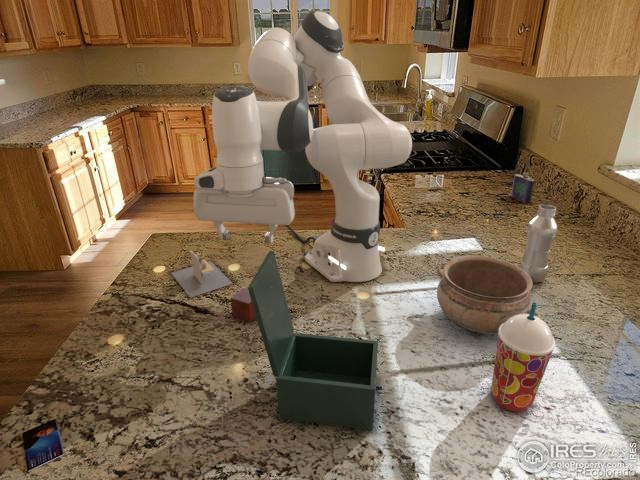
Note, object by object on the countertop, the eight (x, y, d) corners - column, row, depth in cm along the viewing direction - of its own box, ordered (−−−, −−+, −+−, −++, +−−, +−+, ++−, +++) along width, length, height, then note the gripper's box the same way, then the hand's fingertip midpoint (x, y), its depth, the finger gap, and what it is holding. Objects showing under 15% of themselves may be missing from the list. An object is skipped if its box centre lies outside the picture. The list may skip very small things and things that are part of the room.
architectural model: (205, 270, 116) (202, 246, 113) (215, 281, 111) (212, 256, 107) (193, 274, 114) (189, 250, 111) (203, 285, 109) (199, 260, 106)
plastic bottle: (548, 286, 107) (567, 213, 98) (519, 284, 108) (536, 211, 99) (541, 274, 112) (559, 203, 104) (514, 271, 114) (529, 201, 105)
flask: (508, 196, 166) (513, 169, 162) (514, 195, 167) (520, 169, 163) (526, 204, 158) (532, 176, 154) (532, 203, 159) (539, 175, 155)
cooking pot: (406, 310, 98) (410, 263, 93) (460, 285, 108) (467, 242, 103) (501, 373, 80) (513, 320, 74) (556, 336, 89) (570, 287, 84)
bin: (376, 378, 79) (378, 340, 75) (372, 430, 68) (375, 389, 65) (293, 369, 81) (292, 332, 77) (278, 418, 71) (275, 378, 67)
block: (232, 316, 97) (230, 298, 95) (245, 305, 101) (243, 287, 99) (250, 322, 95) (248, 303, 93) (263, 310, 99) (261, 292, 97)
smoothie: (494, 375, 79) (515, 283, 71) (542, 396, 75) (570, 300, 66) (478, 402, 74) (497, 306, 65) (528, 427, 69) (557, 327, 60)
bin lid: (273, 250, 70) (269, 250, 71) (252, 287, 60) (247, 287, 60) (294, 330, 77) (289, 330, 77) (278, 376, 67) (273, 376, 67)
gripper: (297, 173, 84) (299, 237, 90) (199, 170, 87) (207, 231, 93) (289, 183, 78) (292, 250, 84) (185, 179, 81) (195, 244, 87)
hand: (247, 240), depth 88 cm, fingers open, 8 cm apart
